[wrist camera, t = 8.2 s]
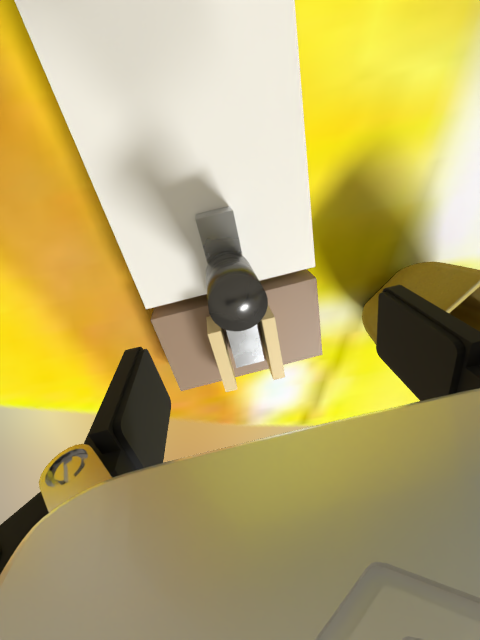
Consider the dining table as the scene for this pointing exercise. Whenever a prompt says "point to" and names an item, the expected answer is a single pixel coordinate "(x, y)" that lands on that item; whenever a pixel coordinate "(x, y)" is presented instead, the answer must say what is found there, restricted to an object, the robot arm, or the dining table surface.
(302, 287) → the slide latch panel
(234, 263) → the bolt
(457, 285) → the flower pot
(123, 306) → the dining table surface
